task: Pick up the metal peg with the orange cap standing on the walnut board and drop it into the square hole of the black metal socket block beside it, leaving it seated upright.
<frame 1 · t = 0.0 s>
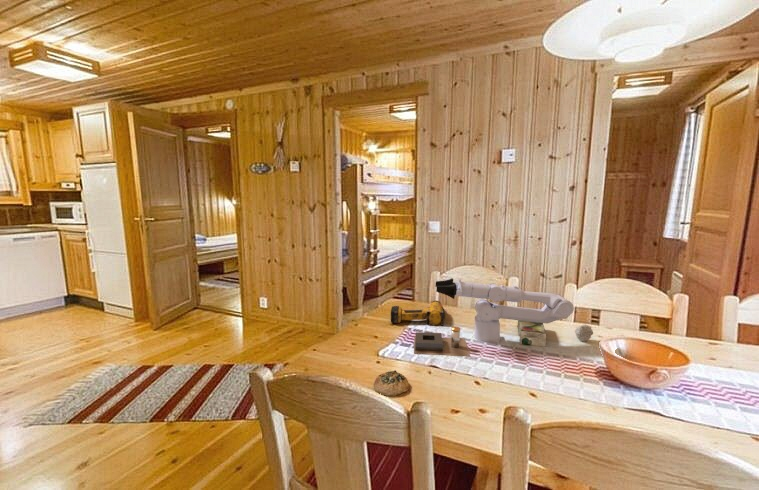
hand: (436, 286, 140), 22 cm above the table, tool horizontal, fingers open, 7 cm apart
juice carton: (530, 337, 145), on the table
grey rock: (583, 341, 140), on the table
bread roll: (391, 388, 108), on the table
metal peg: (455, 346, 134), point 1 cm above the table, touching walnut board
socket block: (428, 347, 135), resting on walnut board
walnut board: (440, 348, 134), on the table
power drill: (418, 317, 170), on the table
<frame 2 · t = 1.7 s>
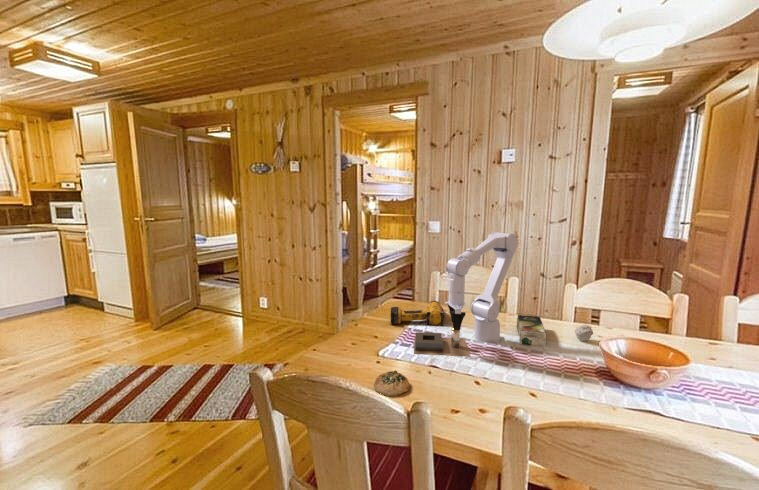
hand: (455, 326, 133), 9 cm above the table, tool pointing down, fingers open, 7 cm apart
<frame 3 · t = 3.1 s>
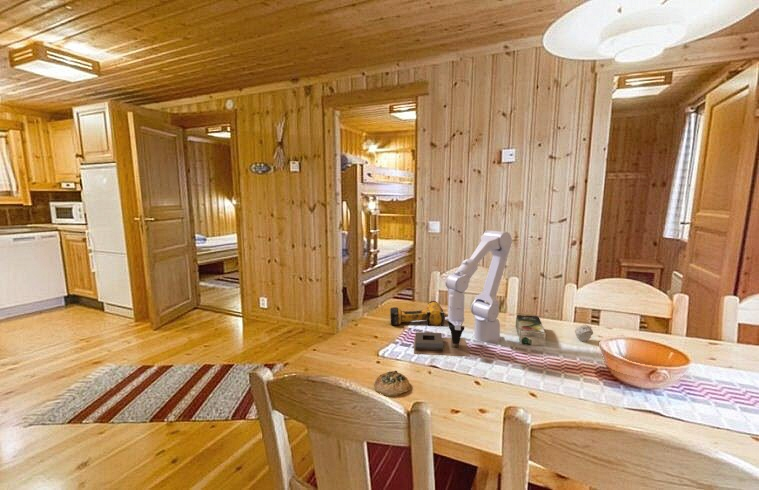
hand: (455, 341, 133), 3 cm above the table, tool pointing down, fingers closed on metal peg, 3 cm apart
metal peg: (455, 346, 134), point 1 cm above the table, touching gripper, walnut board
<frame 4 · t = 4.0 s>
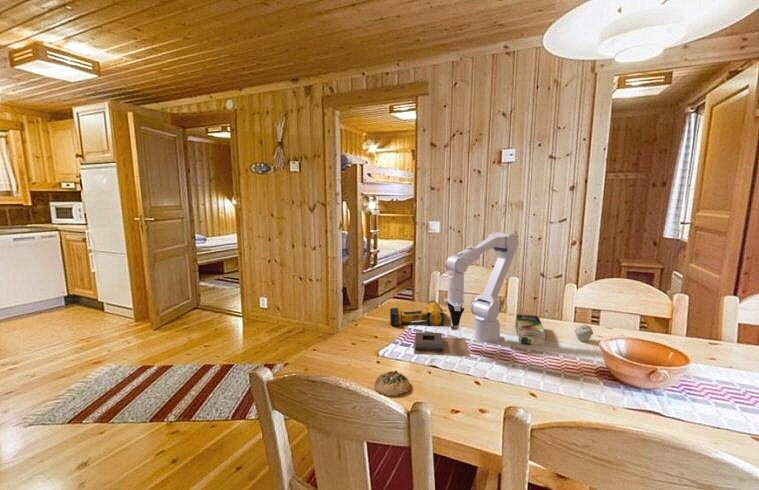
hand: (455, 323, 132), 10 cm above the table, tool pointing down, fingers closed on metal peg, 3 cm apart
metal peg: (454, 328, 133), point 8 cm above the table, touching gripper
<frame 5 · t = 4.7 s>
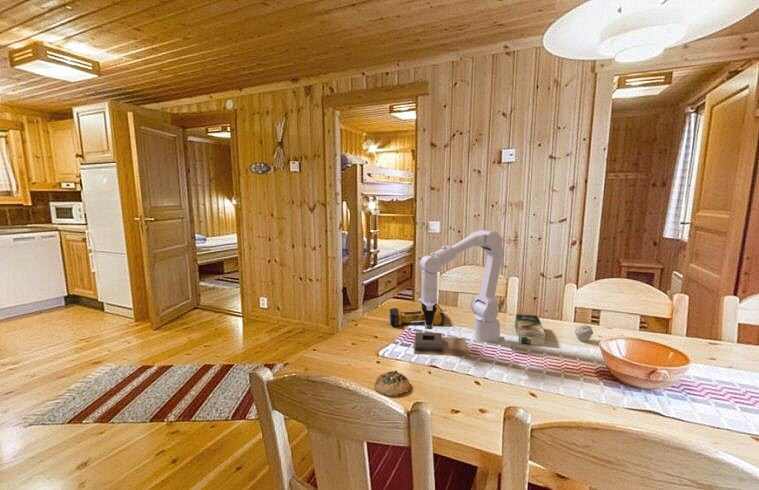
hand: (428, 323, 134), 10 cm above the table, tool pointing down, fingers closed on metal peg, 3 cm apart
metal peg: (428, 327, 134), point 8 cm above the table, touching gripper
when the fingers open (5 cm above the table, at t = 6.1 s): metal peg drops 2 cm, resting on walnut board.
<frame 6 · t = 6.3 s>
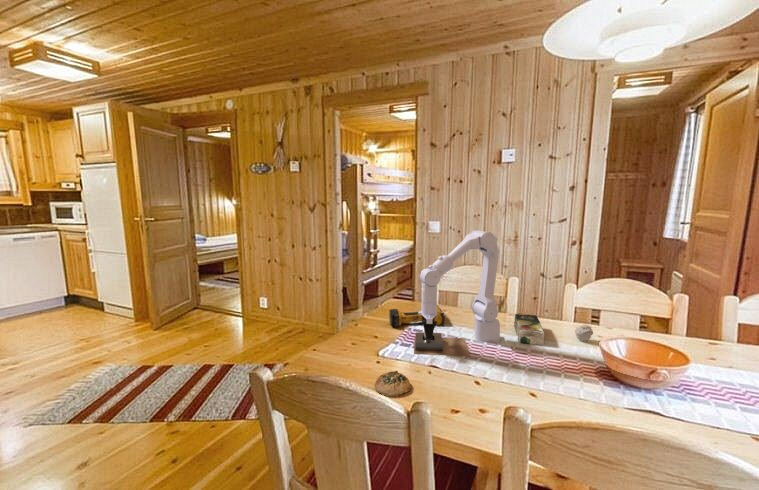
hand: (428, 335, 134), 5 cm above the table, tool pointing down, fingers open, 5 cm apart
metal peg: (428, 345, 135), point 1 cm above the table, touching walnut board
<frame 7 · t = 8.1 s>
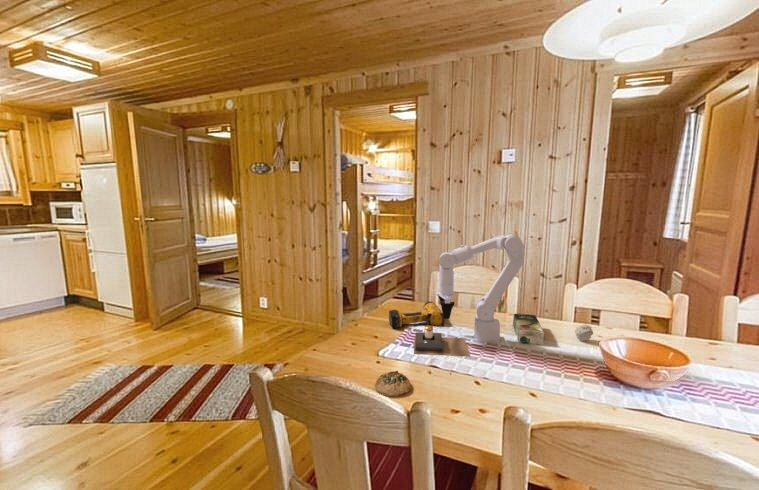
hand: (445, 315, 143), 9 cm above the table, tool pointing down, fingers open, 7 cm apart
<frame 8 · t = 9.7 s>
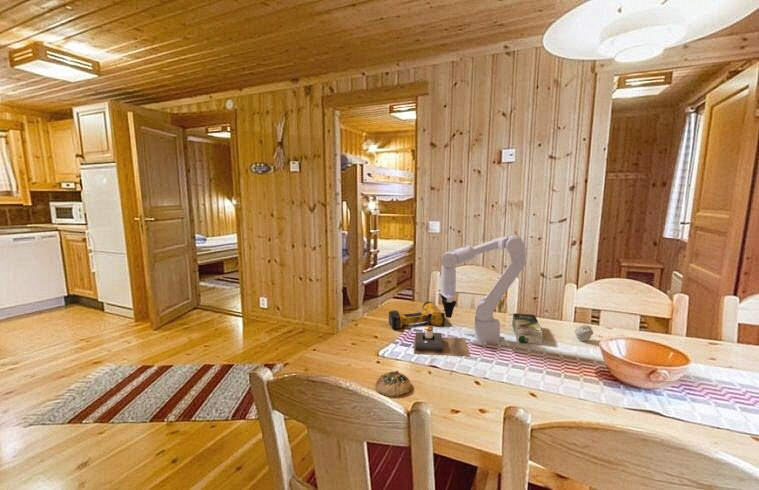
hand: (447, 314, 145), 9 cm above the table, tool pointing down, fingers open, 7 cm apart
at the end: metal peg 0.0 cm off-centre on the socket block, point 1.0 cm above the socket block's base; metal peg tilted 0°; the gripper is holding nothing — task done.
